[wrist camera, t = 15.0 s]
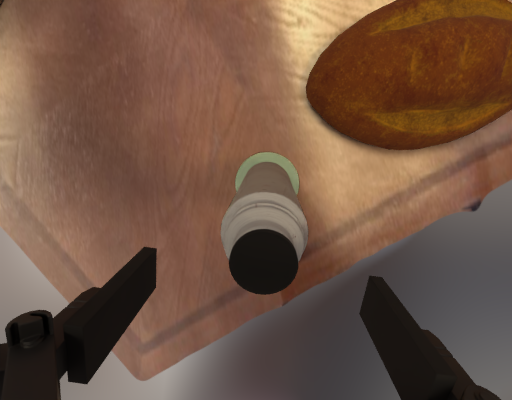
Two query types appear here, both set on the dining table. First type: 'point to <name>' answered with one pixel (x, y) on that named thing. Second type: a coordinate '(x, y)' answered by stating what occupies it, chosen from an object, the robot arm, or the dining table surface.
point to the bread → (417, 73)
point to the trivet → (268, 158)
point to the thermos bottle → (264, 230)
